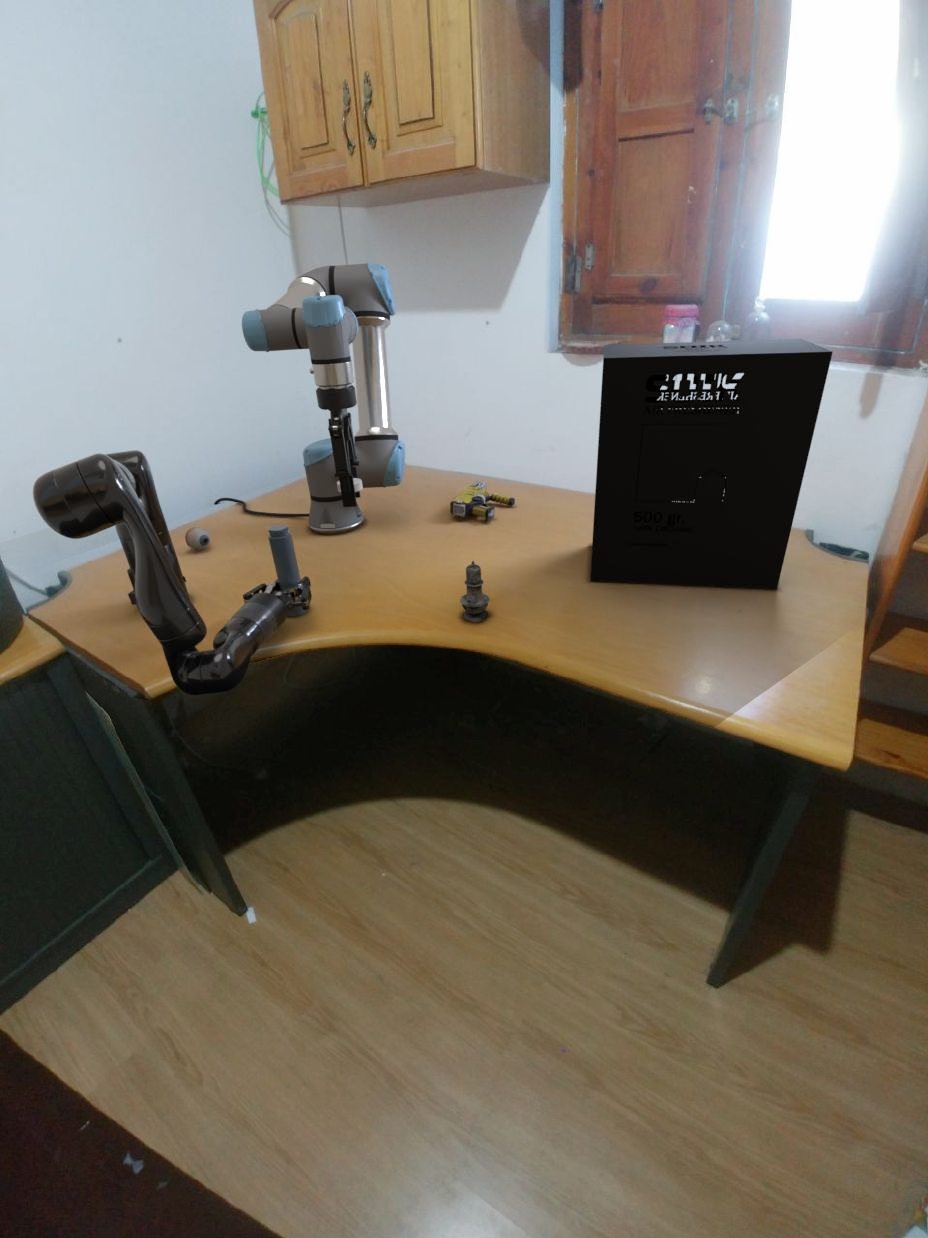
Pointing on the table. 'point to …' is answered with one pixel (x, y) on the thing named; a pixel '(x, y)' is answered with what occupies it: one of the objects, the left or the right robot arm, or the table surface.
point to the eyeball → (197, 538)
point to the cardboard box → (703, 460)
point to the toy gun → (477, 502)
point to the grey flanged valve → (474, 595)
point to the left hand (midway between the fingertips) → (296, 580)
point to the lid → (357, 485)
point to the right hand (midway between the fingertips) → (352, 501)
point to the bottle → (285, 560)
